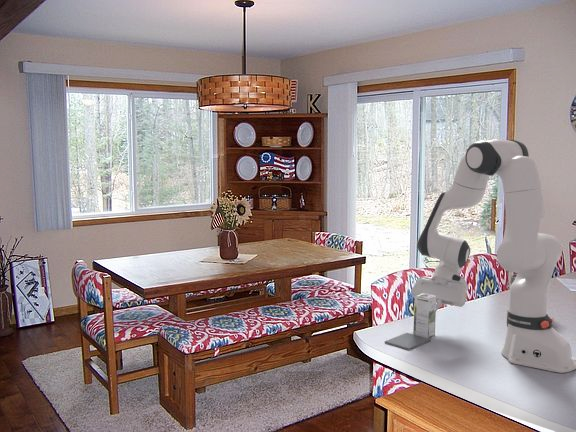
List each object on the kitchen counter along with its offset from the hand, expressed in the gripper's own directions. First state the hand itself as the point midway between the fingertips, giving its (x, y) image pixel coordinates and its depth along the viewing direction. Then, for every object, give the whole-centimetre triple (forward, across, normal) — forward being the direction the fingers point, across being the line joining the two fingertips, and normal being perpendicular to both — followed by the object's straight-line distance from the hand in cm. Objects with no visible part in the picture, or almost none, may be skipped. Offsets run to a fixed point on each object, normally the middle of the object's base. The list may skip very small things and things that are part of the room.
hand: (431, 311), depth 207 cm
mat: (+16, -1, -5) cm, 17 cm away
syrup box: (+9, 0, +2) cm, 9 cm away
